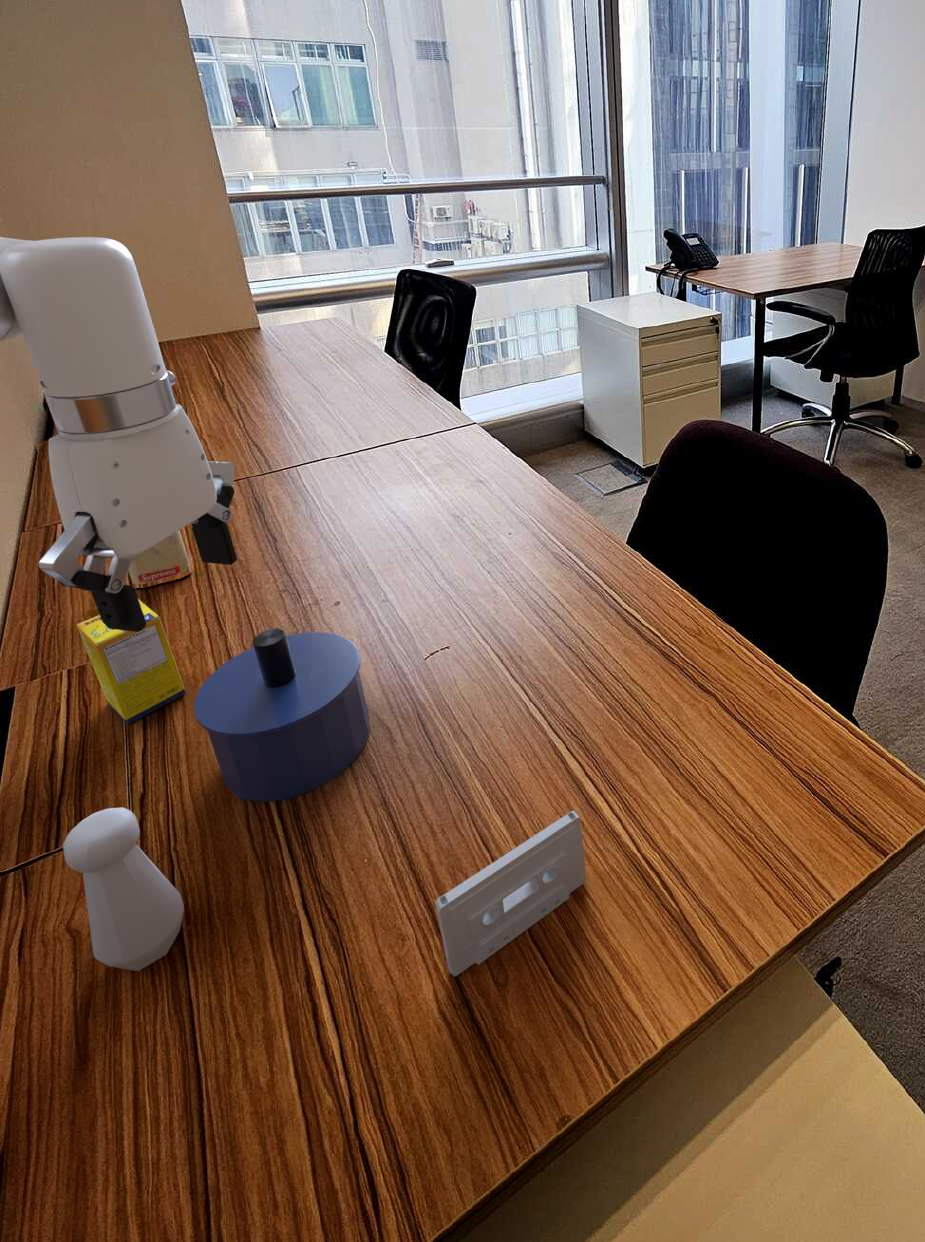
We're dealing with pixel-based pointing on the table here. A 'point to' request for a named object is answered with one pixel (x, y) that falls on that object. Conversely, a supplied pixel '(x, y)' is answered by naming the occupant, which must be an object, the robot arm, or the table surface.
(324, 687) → the pot lid
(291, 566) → the table surface
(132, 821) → the salt shaker
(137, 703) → the supplement box
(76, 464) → the robot arm
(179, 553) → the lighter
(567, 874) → the cassette
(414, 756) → the table surface
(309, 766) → the pot
